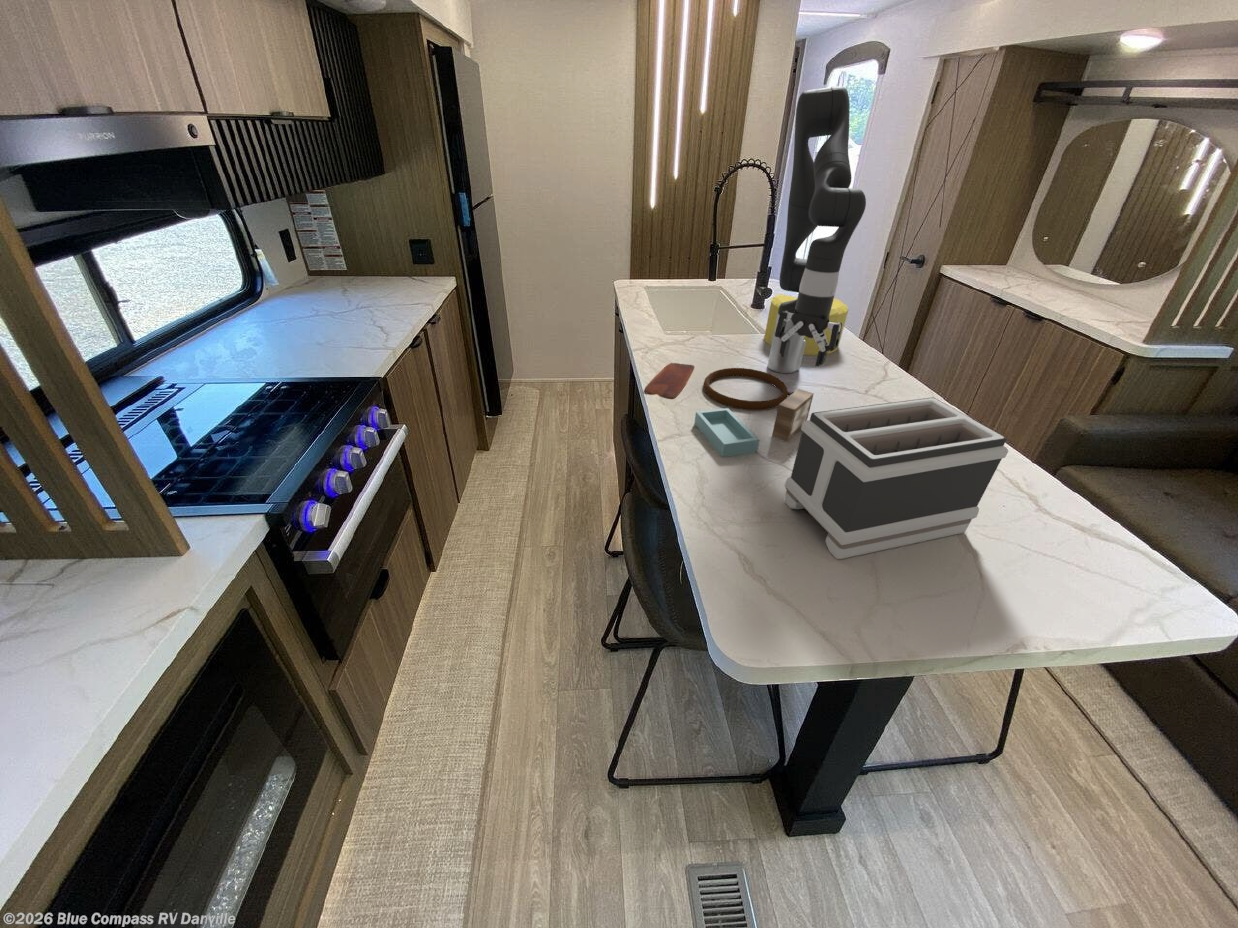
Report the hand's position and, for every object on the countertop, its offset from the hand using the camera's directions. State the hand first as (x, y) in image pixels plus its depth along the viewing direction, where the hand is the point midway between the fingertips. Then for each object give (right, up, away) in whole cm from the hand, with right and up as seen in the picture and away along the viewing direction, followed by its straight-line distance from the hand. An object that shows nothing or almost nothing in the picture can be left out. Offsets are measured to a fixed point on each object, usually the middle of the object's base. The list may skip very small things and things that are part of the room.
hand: (800, 360), depth 121 cm
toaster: (+9, -35, -18) cm, 41 cm away
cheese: (+23, +20, +66) cm, 73 cm away
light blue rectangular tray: (-17, -18, +6) cm, 25 cm away
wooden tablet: (-27, +1, +35) cm, 44 cm away
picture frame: (+1, -16, +10) cm, 19 cm away
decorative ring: (-4, -4, +28) cm, 29 cm away
